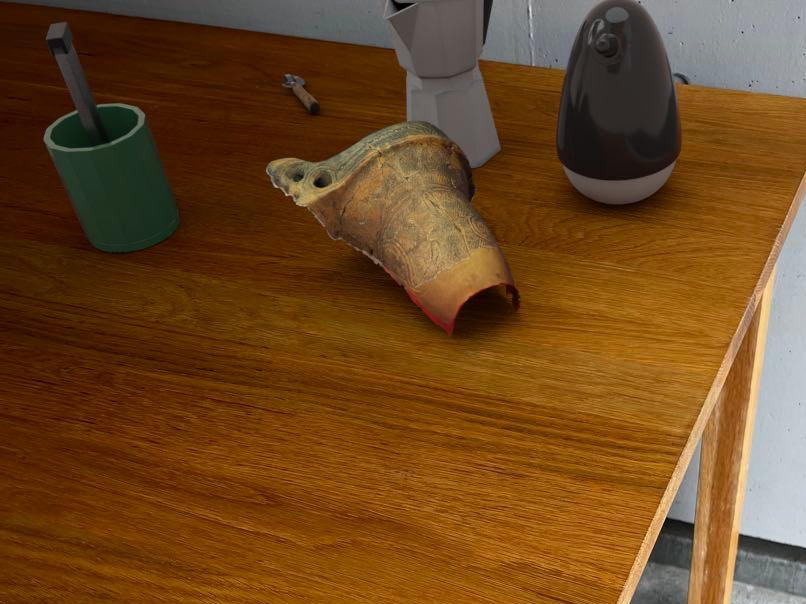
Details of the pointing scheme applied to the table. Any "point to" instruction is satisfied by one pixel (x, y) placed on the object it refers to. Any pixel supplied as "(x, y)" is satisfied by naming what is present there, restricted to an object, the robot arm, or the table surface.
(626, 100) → the pump dispenser
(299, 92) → the can opener
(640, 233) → the table surface
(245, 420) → the table surface
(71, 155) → the cup
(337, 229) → the tan clay pottery piece
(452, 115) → the coffee maker
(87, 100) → the grey capped rod
